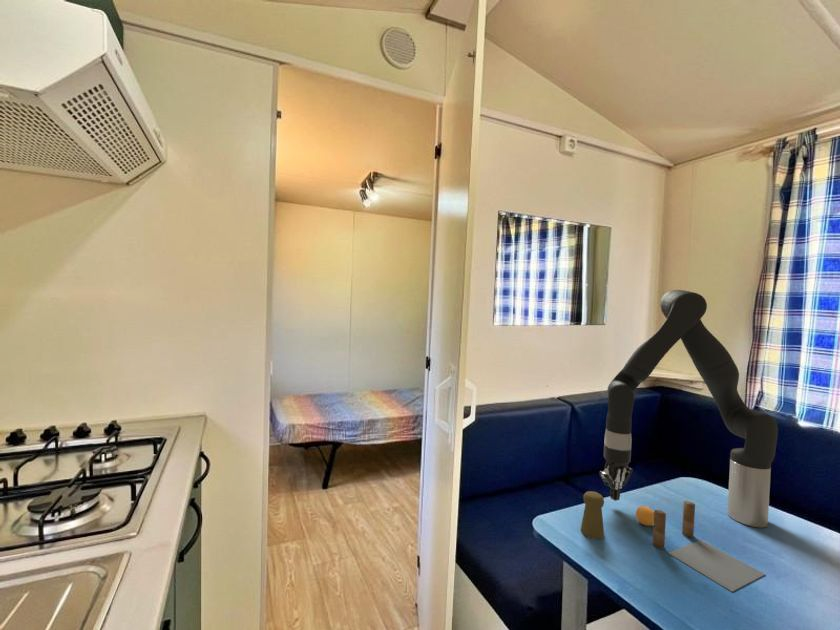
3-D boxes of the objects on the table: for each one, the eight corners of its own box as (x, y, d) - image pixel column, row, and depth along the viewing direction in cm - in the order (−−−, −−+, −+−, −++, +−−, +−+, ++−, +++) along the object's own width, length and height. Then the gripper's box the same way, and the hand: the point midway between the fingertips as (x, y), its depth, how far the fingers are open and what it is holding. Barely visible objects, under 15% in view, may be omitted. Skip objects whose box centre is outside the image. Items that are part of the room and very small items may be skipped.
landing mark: (701, 540, 102) (701, 539, 102) (765, 574, 89) (765, 574, 89) (668, 553, 96) (668, 552, 96) (732, 592, 84) (732, 591, 84)
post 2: (685, 531, 106) (687, 500, 106) (695, 536, 104) (697, 504, 104) (680, 533, 105) (681, 501, 105) (689, 538, 103) (691, 506, 103)
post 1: (656, 541, 101) (658, 509, 101) (666, 547, 99) (668, 514, 99) (650, 544, 100) (652, 510, 100) (660, 550, 98) (661, 516, 97)
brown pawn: (607, 540, 101) (608, 500, 101) (583, 537, 102) (584, 497, 102) (601, 527, 107) (602, 489, 107) (578, 524, 108) (579, 487, 108)
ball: (642, 517, 113) (643, 501, 112) (659, 527, 108) (660, 510, 108) (631, 521, 111) (632, 504, 110) (647, 531, 106) (648, 513, 106)
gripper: (621, 438, 124) (618, 490, 124) (592, 443, 118) (589, 497, 119) (642, 446, 117) (639, 501, 117) (613, 452, 111) (610, 509, 112)
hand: (614, 499), depth 118 cm, fingers closed
